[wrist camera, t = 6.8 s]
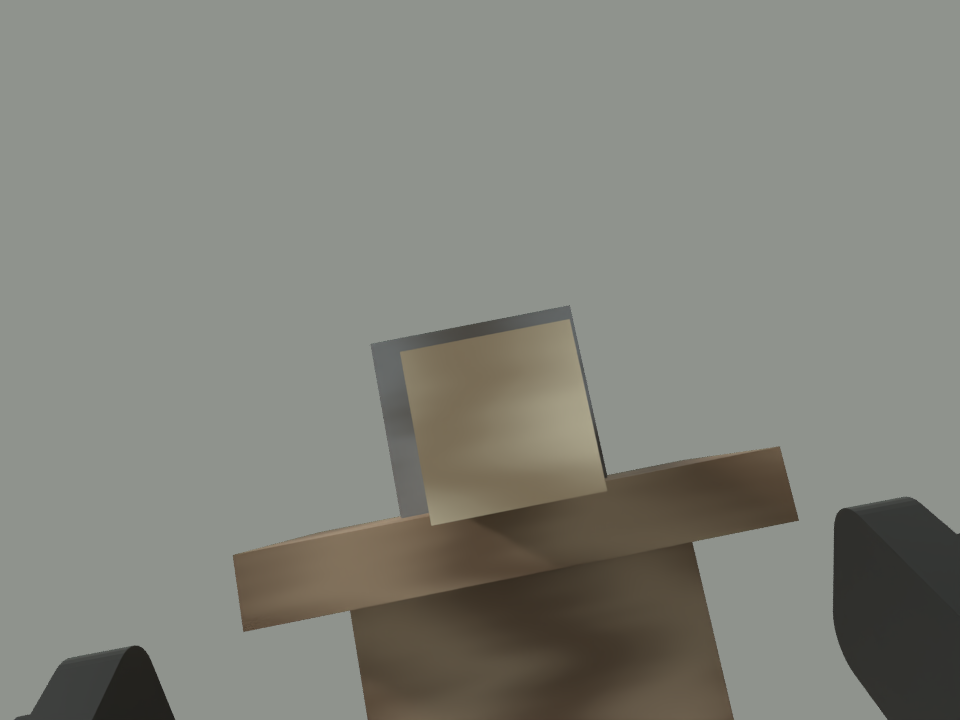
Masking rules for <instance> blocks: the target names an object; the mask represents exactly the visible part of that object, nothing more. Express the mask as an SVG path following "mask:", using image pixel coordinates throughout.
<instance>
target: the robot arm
mask: <svg viewBox="0 0 960 720" xmlns="http://www.w3.org/2000/svg"><path fill="white" fill-rule="evenodd" d="M833 583H834V584H833V619H834V626H835V631H836V635H837V638H838V642H839V645H840V647H841V650H842V652H843V655H844V657H845V659H846V661H847V663H848V665H849V666H850V668H851V670H852V671H853V673H854V674H855V676H856V677H857V678H858V680H859V681H860V682H861V684H862V685H863V686H864V688H865V689H866V690H867V692H868V693H869V695H870V696H871V697H872V699H873V700H874V701H875V703H876V704H877V706H878V707H879V708H880V710H881V711H882V712H883V714H884V715H885V717H886V718H887V719H888V720H960V534H956V533H955V532H953V531H952V530H951V529H950V528H949V527H948V526H946V525H945V524H944V523H943V522H942V521H940V520H939V519H938V518H937V517H936V516H935V515H934V514H932V513H931V512H930V511H929V510H928V509H927V508H925V507H924V506H923V505H922V504H921V503H919V502H918V501H917V500H915V499H913V498H910V497H901V498H895V499H890V500H885V501H880V502H875V503H870V504H864V505H859V506H854V507H848V508H843V509H841V510H840V511H839V512H838V513H837V515H836V518H835V524H834V581H833ZM15 720H175V718H174V716H173V713H172V711H171V709H170V706H169V704H168V701H167V699H166V696H165V694H164V691H163V689H162V686H161V684H160V681H159V679H158V677H157V674H156V672H155V669H154V667H153V665H152V662H151V660H150V658H149V655H148V654H147V653H146V651H145V650H144V649H143V648H141V647H139V646H130V647H124V648H119V649H114V650H109V651H103V652H99V653H93V654H88V655H83V656H77V657H72V658H68V659H66V660H65V661H63V662H62V663H61V664H60V665H59V666H58V668H57V669H56V671H55V673H54V675H53V676H52V678H51V680H50V681H49V683H48V685H47V687H46V688H45V690H44V692H43V694H42V695H41V697H40V699H39V700H38V702H37V704H36V706H35V708H34V709H33V711H32V713H31V714H30V715H25V716H20V717H17V718H16V719H15Z"/></svg>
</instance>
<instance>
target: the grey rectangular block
mask: <svg viewBox="0 0 960 720" xmlns="http://www.w3.org/2000/svg"><path fill="white" fill-rule="evenodd" d="M371 349H372V355H373V360H374V366H375V372H376V378H377V383H378V389H379V394H380V401H381V406H382V411H383V418H384V423H385V429H386V435H387V440H388V446H389V452H390V457H391V463H392V469H393V475H394V480H395V486H396V491H397V497H398V503H399V509H400V515H401V518H406V517H411V516H416V515H421V514H426V513H429V515H430V521H431V526H433V525H438V524H443V523H448V522H453V521H458V520H463V519H468V518H473V517H478V516H483V515H488V514H493V513H498V512H503V511H508V510H513V509H518V508H523V507H528V506H533V505H539V504H544V503H549V502H554V501H559V500H564V499H569V498H574V497H579V496H584V495H589V494H594V493H599V492H604V491H607V487H606V482H605V478H608V477H607V473H606V468H605V464H604V460H603V455H602V450H601V446H600V441H599V436H598V432H597V428H596V423H595V418H594V414H593V409H592V405H591V400H590V395H589V391H588V386H587V382H586V377H585V373H584V368H583V364H582V359H581V355H580V350H579V345H578V341H577V336H576V332H575V327H574V323H573V318H572V314H571V309H570V306H564V307H559V308H554V309H548V310H543V311H539V312H533V313H528V314H523V315H518V316H513V317H507V318H502V319H497V320H492V321H487V322H481V323H476V324H471V325H466V326H461V327H456V328H450V329H446V330H440V331H436V332H430V333H425V334H420V335H415V336H409V337H405V338H399V339H394V340H389V341H383V342H378V343H373V344H371Z"/></svg>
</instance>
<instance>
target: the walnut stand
mask: <svg viewBox="0 0 960 720" xmlns="http://www.w3.org/2000/svg"><path fill="white" fill-rule="evenodd" d="M607 477H608V478H605V482H606V487H607V491H604V492H599V493H594V494H589V495H584V496H579V497H574V498H569V499H564V500H559V501H554V502H549V503H544V504H539V505H533V506H528V507H523V508H518V509H513V510H508V511H503V512H498V513H493V514H488V515H483V516H478V517H473V518H468V519H463V520H458V521H453V522H448V523H443V524H438V525H433V526H431V521H430V515H429V513H426V514H421V515H416V516H411V517H406V518H401V516H400V517H394V518H389V519H384V520H379V521H374V522H369V523H364V524H359V525H354V526H349V527H344V528H339V529H334V530H329V531H324V532H319V533H315V534H311V535H307V536H304V537H300V538H296V539H292V540H288V541H284V542H281V543H277V544H273V545H269V546H266V547H262V548H258V549H254V550H250V551H247V552H243V553H239V554H235V555H233V560H234V567H235V574H236V582H237V588H238V595H239V603H240V610H241V617H242V625H243V631H244V632H245V631H250V630H255V629H260V628H265V627H270V626H275V625H280V624H285V623H290V622H295V621H300V620H305V619H310V618H315V617H320V616H325V615H330V614H335V613H340V612H345V611H349V610H350V612H351V619H352V625H353V631H354V637H355V643H356V649H357V656H358V661H359V668H360V674H361V680H362V687H363V693H364V699H365V705H366V712H367V717H368V720H734V718H733V714H732V710H731V706H730V701H729V697H728V692H727V688H726V684H725V680H724V676H723V671H722V667H721V663H720V658H719V654H718V650H717V646H716V641H715V638H714V633H713V629H712V624H711V620H710V616H709V612H708V607H707V603H706V599H705V594H704V590H703V586H702V582H701V578H700V573H699V569H698V565H697V560H696V556H695V552H694V548H693V543H692V542H694V541H699V540H704V539H709V538H713V537H719V536H723V535H729V534H733V533H739V532H743V531H749V530H754V529H758V528H764V527H768V526H773V525H778V524H784V523H788V522H794V521H799V519H798V515H797V512H796V508H795V504H794V500H793V496H792V492H791V489H790V485H789V480H788V477H787V473H786V469H785V465H784V461H783V457H782V453H781V450H780V447H773V448H766V449H759V450H751V451H744V452H738V453H730V454H724V455H716V456H709V457H702V458H696V459H688V460H682V461H677V462H672V463H666V464H661V465H657V466H651V467H647V468H642V469H636V470H631V471H626V472H621V473H616V474H611V475H607Z"/></svg>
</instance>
